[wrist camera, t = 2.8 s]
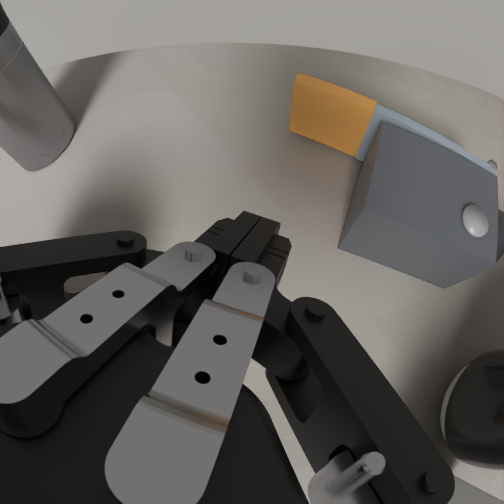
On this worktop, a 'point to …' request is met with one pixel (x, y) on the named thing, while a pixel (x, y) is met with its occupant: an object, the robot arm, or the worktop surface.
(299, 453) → the worktop surface
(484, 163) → the grey and orange bar
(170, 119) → the worktop surface
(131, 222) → the worktop surface
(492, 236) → the camera body
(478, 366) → the pump dispenser
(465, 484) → the milk carton
